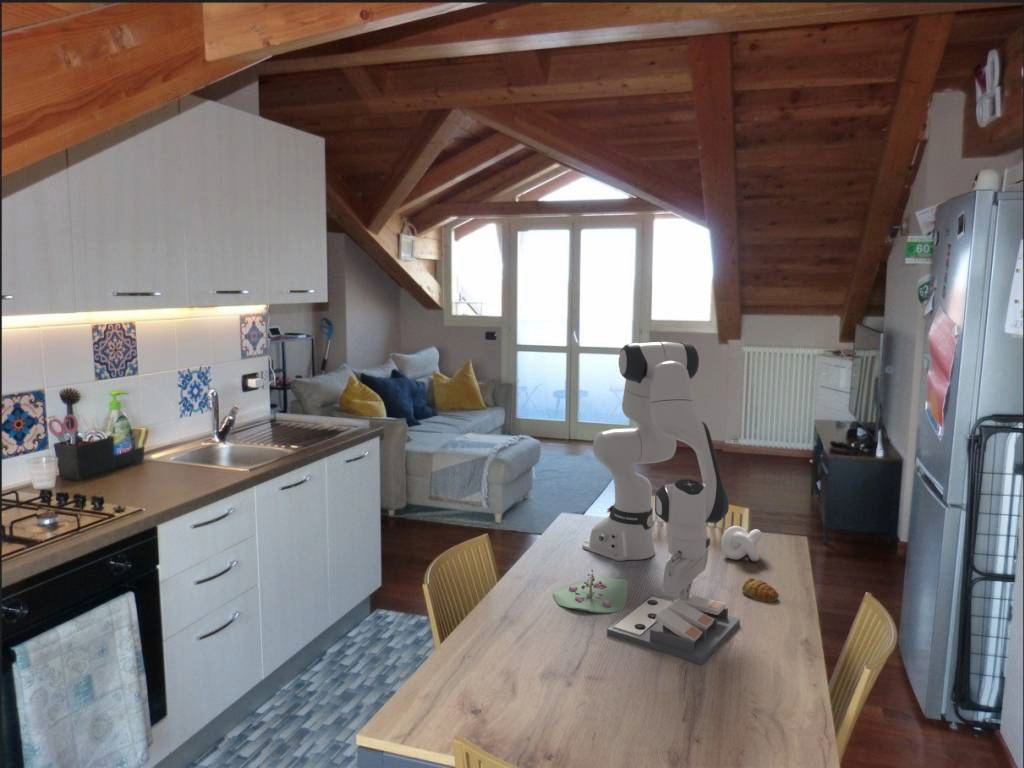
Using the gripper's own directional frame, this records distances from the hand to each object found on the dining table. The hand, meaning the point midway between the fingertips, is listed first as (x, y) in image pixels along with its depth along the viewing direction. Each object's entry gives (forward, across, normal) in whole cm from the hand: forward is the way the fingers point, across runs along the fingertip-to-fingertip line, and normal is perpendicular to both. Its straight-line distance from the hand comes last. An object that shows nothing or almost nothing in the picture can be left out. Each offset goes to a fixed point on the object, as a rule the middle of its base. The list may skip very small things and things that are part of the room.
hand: (684, 598), depth 195 cm
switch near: (0, -14, -4) cm, 15 cm away
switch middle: (0, -7, -4) cm, 8 cm away
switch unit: (+5, -7, 0) cm, 9 cm away
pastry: (+6, +25, -12) cm, 28 cm away
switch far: (0, 0, -5) cm, 5 cm away
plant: (+6, 0, +25) cm, 26 cm away
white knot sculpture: (+6, +48, 0) cm, 49 cm away
